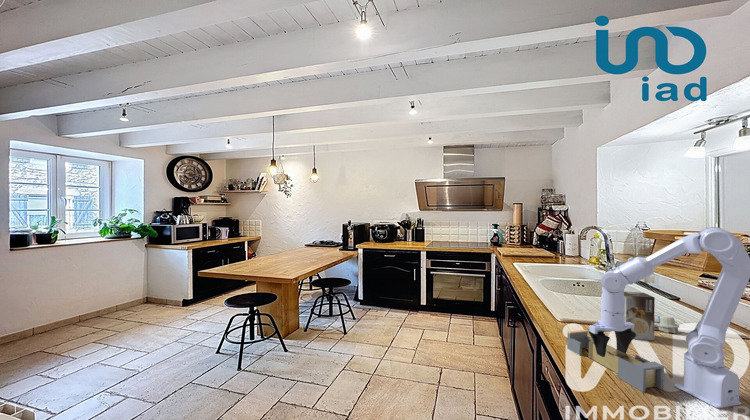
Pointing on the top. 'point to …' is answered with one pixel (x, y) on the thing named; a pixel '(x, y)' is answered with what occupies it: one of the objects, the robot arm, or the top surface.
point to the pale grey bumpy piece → (666, 323)
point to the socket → (578, 341)
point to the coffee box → (640, 314)
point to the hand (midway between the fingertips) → (611, 354)
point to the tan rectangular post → (612, 361)
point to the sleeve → (640, 373)
